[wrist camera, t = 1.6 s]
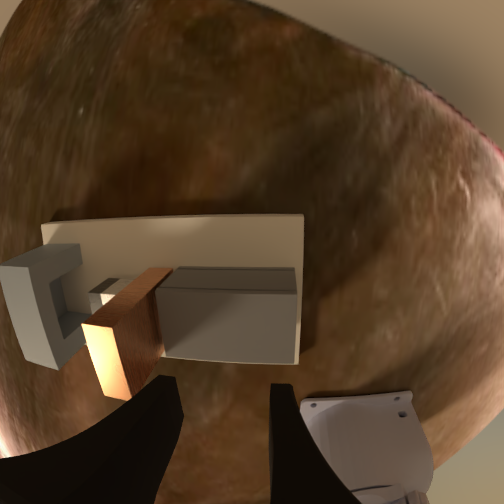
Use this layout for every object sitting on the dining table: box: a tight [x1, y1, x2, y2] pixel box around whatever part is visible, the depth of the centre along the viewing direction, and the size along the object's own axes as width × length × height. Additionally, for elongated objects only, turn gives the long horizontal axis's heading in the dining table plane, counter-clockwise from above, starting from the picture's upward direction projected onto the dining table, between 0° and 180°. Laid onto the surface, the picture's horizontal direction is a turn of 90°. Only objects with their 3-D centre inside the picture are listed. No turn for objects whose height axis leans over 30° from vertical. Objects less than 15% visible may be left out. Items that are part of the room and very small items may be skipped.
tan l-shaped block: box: [82, 268, 173, 400], centre depth 15 cm, size 12×4×8 cm, turn 91°
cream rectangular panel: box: [41, 214, 304, 364], centre depth 18 cm, size 19×10×5 cm, turn 91°
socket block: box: [0, 243, 92, 370], centre depth 17 cm, size 4×7×6 cm, turn 1°
